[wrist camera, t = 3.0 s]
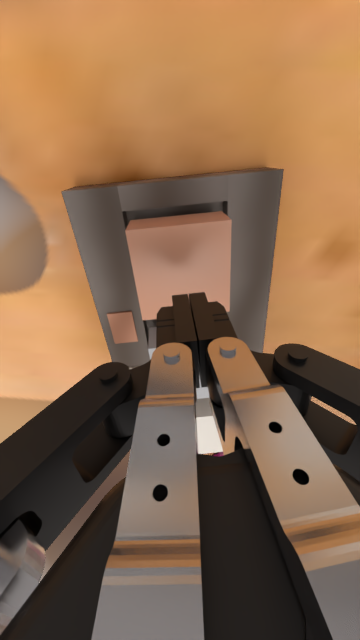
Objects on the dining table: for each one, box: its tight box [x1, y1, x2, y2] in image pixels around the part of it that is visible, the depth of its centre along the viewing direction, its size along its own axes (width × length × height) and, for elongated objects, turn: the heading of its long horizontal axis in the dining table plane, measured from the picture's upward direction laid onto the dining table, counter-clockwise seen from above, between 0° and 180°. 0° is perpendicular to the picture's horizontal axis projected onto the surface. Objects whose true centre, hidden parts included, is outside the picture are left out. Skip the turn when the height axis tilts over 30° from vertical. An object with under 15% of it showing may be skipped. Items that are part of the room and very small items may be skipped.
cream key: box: [196, 398, 223, 454], centre depth 26 cm, size 6×6×3 cm
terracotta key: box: [125, 211, 232, 320], centre depth 17 cm, size 6×6×3 cm
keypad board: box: [62, 168, 284, 369], centre depth 25 cm, size 14×27×3 cm, turn 5°
